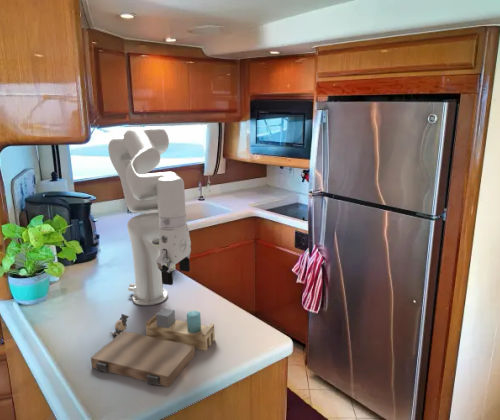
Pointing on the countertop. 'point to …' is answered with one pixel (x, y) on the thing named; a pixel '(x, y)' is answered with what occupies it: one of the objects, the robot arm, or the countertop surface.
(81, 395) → the countertop surface
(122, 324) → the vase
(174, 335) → the light wood long block
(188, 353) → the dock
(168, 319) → the grey cube
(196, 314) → the teal cylinder
